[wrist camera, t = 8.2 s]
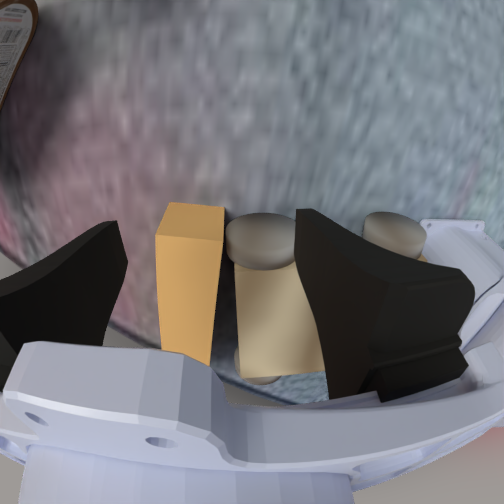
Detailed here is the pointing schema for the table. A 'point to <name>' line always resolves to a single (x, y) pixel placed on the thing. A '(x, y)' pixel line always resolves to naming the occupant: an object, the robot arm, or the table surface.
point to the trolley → (289, 291)
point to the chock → (188, 277)
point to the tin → (14, 37)
